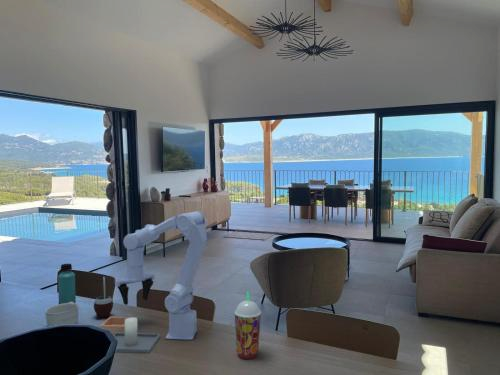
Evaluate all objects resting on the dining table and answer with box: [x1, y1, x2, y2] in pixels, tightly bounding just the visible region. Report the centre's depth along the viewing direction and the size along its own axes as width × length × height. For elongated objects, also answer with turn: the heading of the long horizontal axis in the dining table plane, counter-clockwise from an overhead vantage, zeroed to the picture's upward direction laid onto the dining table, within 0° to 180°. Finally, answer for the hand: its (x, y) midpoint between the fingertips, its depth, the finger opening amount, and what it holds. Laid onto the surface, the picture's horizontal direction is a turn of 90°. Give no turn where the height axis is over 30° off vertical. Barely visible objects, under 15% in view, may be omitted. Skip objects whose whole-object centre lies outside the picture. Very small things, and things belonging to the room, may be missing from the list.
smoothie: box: [233, 291, 262, 360], centre depth 120 cm, size 8×8×20 cm
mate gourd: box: [93, 276, 114, 320], centre depth 150 cm, size 8×8×15 cm
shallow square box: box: [99, 316, 131, 335], centre depth 139 cm, size 9×9×3 cm
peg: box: [125, 316, 138, 346], centre depth 126 cm, size 4×4×8 cm
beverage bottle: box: [57, 263, 77, 304], centre depth 155 cm, size 6×7×20 cm
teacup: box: [44, 302, 79, 328], centre depth 141 cm, size 14×11×8 cm
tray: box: [114, 332, 161, 354], centre depth 126 cm, size 16×12×2 cm
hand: (135, 301), depth 141 cm, fingers open, 7 cm apart
